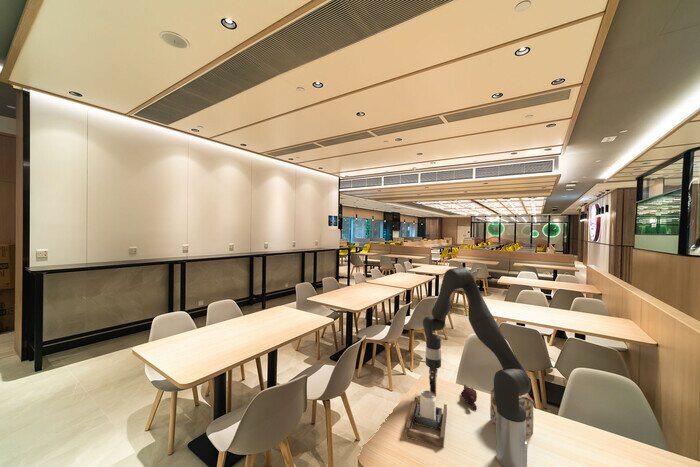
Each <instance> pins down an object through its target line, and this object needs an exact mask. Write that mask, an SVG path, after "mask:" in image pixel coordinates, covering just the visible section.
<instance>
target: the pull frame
mask: <svg viewBox="0 0 700 467" xmlns="http://www.w3.org/2000/svg"><path fill="white" fill-rule="evenodd" d="M435 384H436V385H435V393H434V395H435V398H436V397H437V380H436V381H435ZM435 416H437V420H436V419H435V420H432V419H429V418H425V417H421V416H420V402H418V405H417V410H416V413H415V417H414V424H416V425H419V426H423V427H427V428H431V429H434V430H438V431H441V426H442V418H443V408H442V407H437V406H436V414H435Z"/></svg>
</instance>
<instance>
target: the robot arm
mask: <svg viewBox="0 0 700 467" xmlns="http://www.w3.org/2000/svg"><path fill="white" fill-rule="evenodd" d="M455 290H463V292H464V294H465V296H466V298H467V301H468V309H467V310H468V311H467V314H468V321H469V324H470V326H471V328H472V329H473V332H474V334H475V336H476V337H477V338H478V340H479V341H480V342H481V343H482V344H483V345H484V346H485V347H486V348H488V350H490V351H491V353H493V355H494V356H495V357H496V358H497V360H498V362H499V363H500V364H499V365H500V366H501V367H502V369H500V370H497V371H496V372H495V373H494V376H493V388H494V400H495V403H496V406H497V422H496V424H495V428H496V429H495V431H496V433H495V434H496V435H495V438H496V439H495V453H496V454H495V457H496V460H497V461H498V463H499V464H500V465H501V466H502V467H528V442H527V435H526V410H525V408H524V407H523V406H522V405H520V404H519V396H522V395H524V394H526V393H528V394H529V393H530V392H531V389H532V382H531V379H530V377H529V375H528V373H527V371H526V370H525V368H524V367H523V365H522V363H521V362H520V361H519V359H518V358H517V357H516V355H515V353H514V352H513V350H512V348H511V347H510V345H509V343H508V342H507V339H506V338H505V336H504V335H503V333H502V331H501V329H500V327H499V325H498V323H497V322H496V320H495V318H494V315H493V314H492V313H491V310H490V309H489V307H488V305H487V303H486V302H485V300H484V298H483V295H482V293H481V292H480V289H479V287H478V285H477V282H476V280H475V277H474V275H473V273H472V272H471V270H470V269H469V268H467V267H464V266H462V267H455V268H454V267H453V268H449V269H447V270H446V271H445V273H444V275H443V277H442V281H441V286H440V289H439V293H438V297H437V299H436V302H435V303H434V305H433V308H432V309H431V316H430V315H429V316H425V317H424V318H423V320H422V326H423V330H424V334H425V338H426V339H425V342H426V343H425V344H426V345H425V346H426V347H425V365H426V367H428V368H429V369H428V379H429V391H431V392H433V393H435V385H436V386H437V383H436V384H435V381H436V382H437V377H438V369H440V368H441V367H442V349H441V348H442V347H441V344H442V342H441V341H442V339H441V336H440V335H438V334H435V333H433V332H436V331H441V330H443V329H444V328H445V327H446V318H447V316H448V314H449V312H450V310H451V307H452V302H451V295H452V294H453V293H454V291H455Z"/></svg>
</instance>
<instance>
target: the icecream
mask: <svg viewBox="0 0 700 467" xmlns="http://www.w3.org/2000/svg"><path fill="white" fill-rule="evenodd" d="M460 394H461V395H460V396H461V398H463V400H464V401H465V402H466V403H468V404H471V406H472V409H473V410H474V411H476V410H477V408H478V407H477V404H476V403H475V402H477V400H478V396H477V395H478V392H477V390H476V389H474V388H472V387H468V386H467V385H466V384H463V389H462V391H461V393H460Z"/></svg>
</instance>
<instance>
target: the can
mask: <svg viewBox="0 0 700 467" xmlns="http://www.w3.org/2000/svg"><path fill="white" fill-rule="evenodd" d="M419 396H420V397H419V398H420V399H419V400H420V401H419V403H420V414H419V416H421V417H425V418H429V419H432V420H436V415H435V414H436V407H437V406H436V405H437V404H436V402H437V400H436V397H435V395H434V393H433V392H431V391H430V390H422V391H421V393H420V395H419Z"/></svg>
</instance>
